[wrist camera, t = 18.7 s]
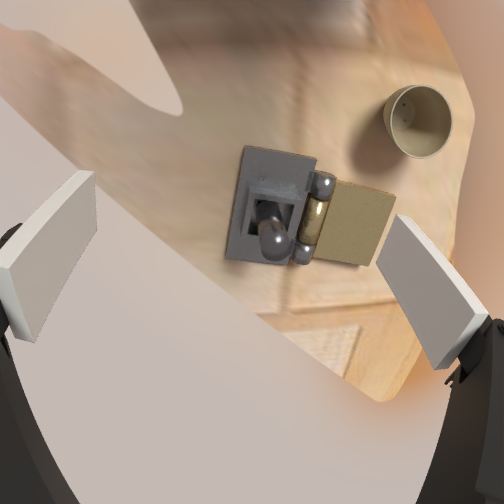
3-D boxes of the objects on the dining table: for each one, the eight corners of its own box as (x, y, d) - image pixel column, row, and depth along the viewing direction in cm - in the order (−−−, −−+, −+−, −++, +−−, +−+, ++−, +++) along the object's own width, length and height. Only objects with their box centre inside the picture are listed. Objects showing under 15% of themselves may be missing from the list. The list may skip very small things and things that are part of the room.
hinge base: (245, 145, 43) (246, 152, 40) (336, 162, 45) (344, 170, 42) (225, 254, 52) (225, 267, 49) (305, 263, 54) (309, 276, 51)
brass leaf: (314, 174, 46) (317, 181, 43) (393, 194, 47) (400, 201, 44) (293, 249, 53) (294, 259, 50) (366, 262, 54) (370, 272, 51)
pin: (257, 199, 46) (263, 234, 38) (281, 202, 47) (293, 237, 38) (253, 221, 48) (259, 260, 40) (277, 224, 49) (287, 262, 40)
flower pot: (432, 91, 39) (460, 99, 33) (416, 150, 44) (441, 166, 38) (376, 70, 37) (400, 74, 31) (361, 135, 42) (382, 149, 37)
